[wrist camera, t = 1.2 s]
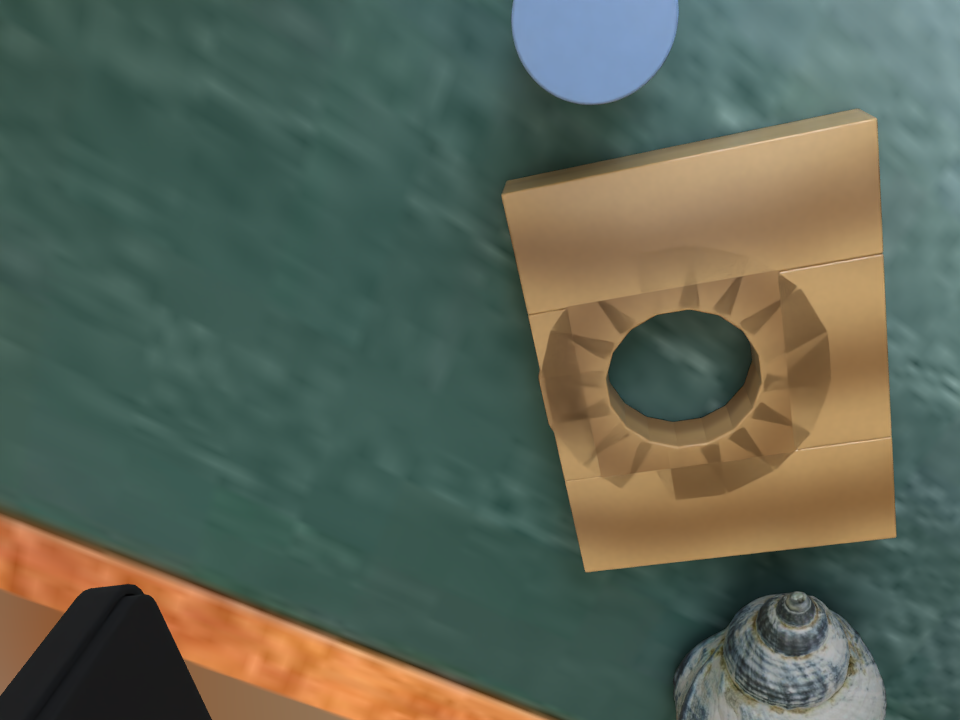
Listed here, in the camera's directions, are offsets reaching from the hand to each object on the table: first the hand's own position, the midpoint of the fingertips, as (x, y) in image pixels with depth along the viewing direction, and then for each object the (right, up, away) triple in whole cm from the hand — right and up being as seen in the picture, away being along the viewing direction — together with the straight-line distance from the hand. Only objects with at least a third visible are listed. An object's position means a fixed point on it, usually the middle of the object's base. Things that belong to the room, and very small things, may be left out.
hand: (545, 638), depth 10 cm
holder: (+8, +3, +23) cm, 24 cm away
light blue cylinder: (+3, +15, +18) cm, 23 cm away
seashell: (+12, -10, +28) cm, 32 cm away
